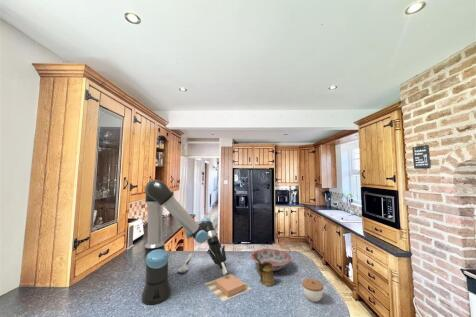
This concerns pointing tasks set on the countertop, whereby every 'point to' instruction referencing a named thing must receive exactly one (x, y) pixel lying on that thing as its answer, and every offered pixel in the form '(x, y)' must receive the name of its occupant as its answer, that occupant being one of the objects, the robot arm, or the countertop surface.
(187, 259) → the spoon
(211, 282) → the cream cloth
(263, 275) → the wooden mug
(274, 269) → the ceramic bowl
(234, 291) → the ceramic tile
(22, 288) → the countertop surface
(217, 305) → the countertop surface
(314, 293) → the lidded jar
